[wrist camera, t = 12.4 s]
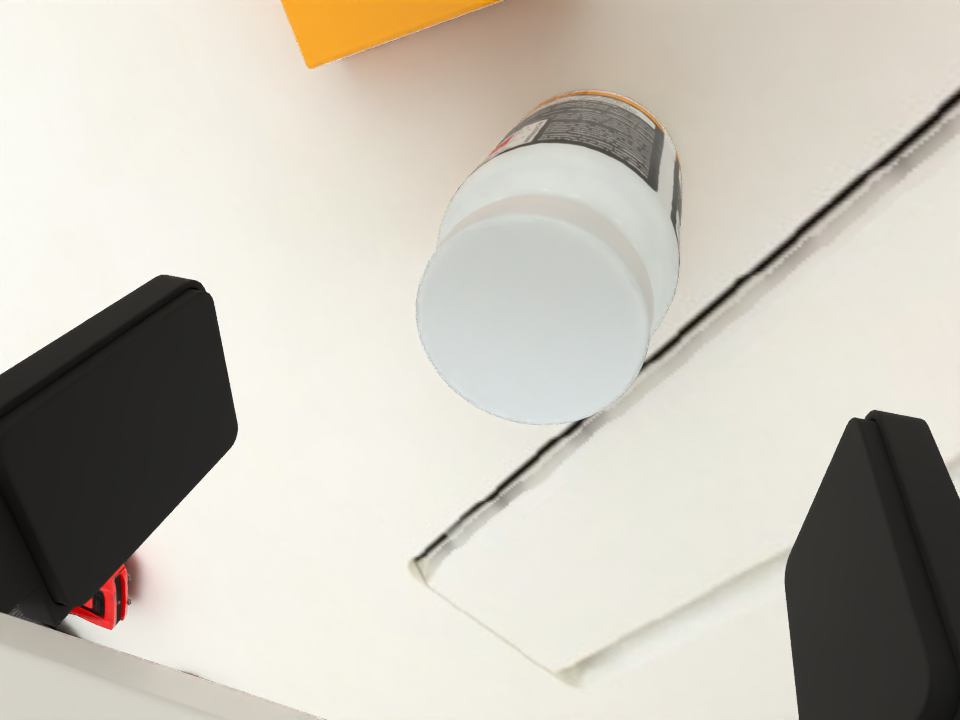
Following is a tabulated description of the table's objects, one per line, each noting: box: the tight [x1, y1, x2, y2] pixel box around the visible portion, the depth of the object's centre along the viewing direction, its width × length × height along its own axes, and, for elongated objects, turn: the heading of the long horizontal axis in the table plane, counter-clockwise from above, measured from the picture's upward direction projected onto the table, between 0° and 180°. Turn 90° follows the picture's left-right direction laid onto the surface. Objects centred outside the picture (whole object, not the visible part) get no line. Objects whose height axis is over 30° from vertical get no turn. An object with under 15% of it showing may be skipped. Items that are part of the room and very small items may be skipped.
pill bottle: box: [416, 90, 682, 425], centre depth 17 cm, size 6×6×10 cm
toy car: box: [69, 564, 132, 630], centre depth 40 cm, size 12×5×3 cm, turn 71°
